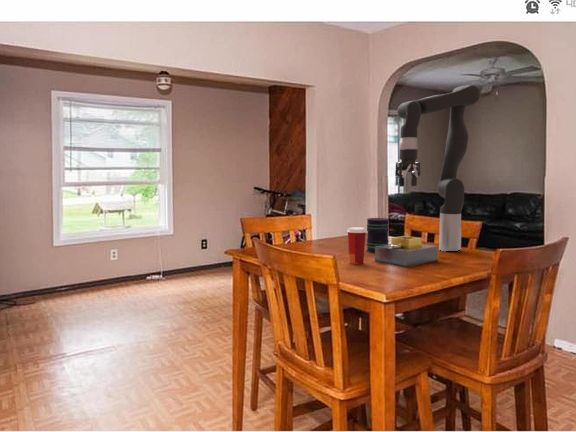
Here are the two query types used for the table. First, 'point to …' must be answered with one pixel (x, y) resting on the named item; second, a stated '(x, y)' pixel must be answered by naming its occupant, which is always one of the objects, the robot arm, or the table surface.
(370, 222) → the storage jar
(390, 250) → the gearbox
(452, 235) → the robot arm
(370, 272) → the table surface
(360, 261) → the paper cup
